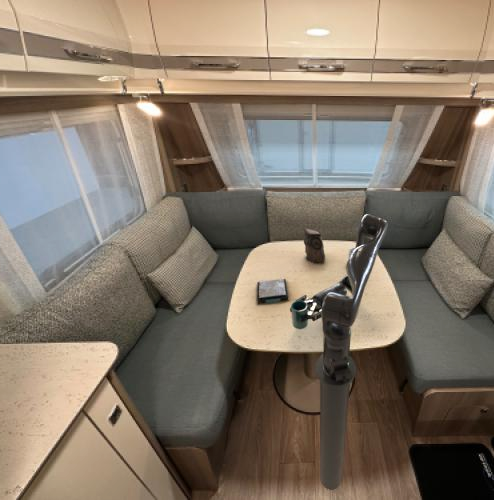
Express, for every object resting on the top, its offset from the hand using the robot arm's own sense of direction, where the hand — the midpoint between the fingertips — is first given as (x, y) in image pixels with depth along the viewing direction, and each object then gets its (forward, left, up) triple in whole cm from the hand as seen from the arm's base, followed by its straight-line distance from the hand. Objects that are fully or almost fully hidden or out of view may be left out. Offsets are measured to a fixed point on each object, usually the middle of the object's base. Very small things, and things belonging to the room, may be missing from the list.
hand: (295, 315), depth 110 cm
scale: (+29, +9, -10) cm, 32 cm away
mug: (+41, -40, -10) cm, 58 cm away
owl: (+57, -20, -10) cm, 62 cm away
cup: (+1, -2, -6) cm, 6 cm away
